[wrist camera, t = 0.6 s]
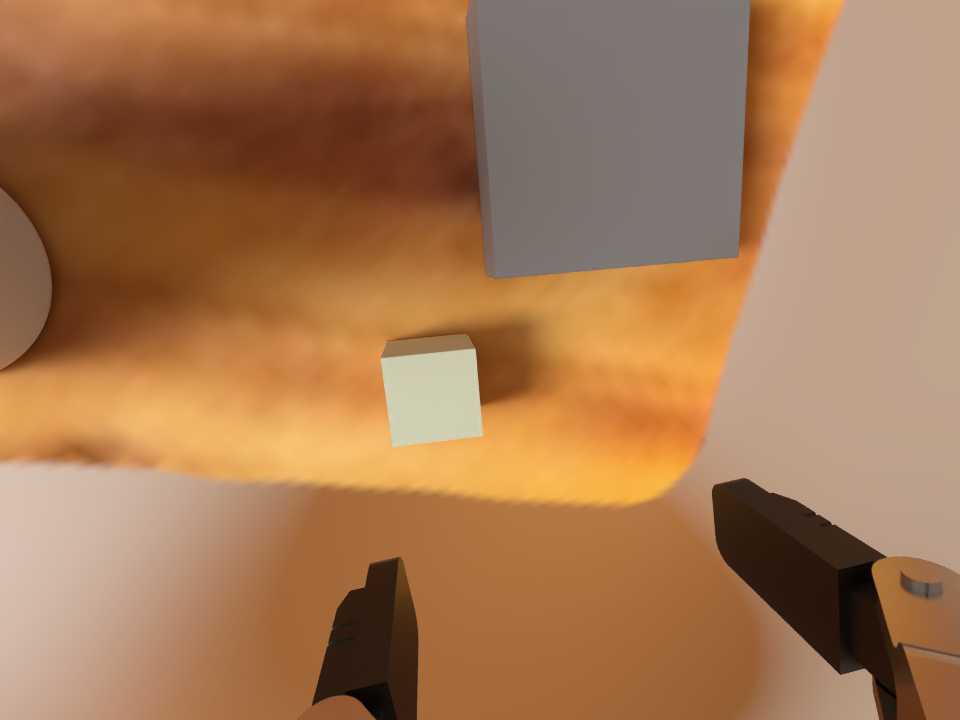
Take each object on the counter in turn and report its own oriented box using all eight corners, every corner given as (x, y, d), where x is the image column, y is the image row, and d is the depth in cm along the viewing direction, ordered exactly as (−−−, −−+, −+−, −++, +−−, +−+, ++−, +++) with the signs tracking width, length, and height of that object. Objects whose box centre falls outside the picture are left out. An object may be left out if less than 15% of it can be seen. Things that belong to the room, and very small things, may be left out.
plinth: (466, 18, 26) (474, -23, 22) (704, 11, 27) (751, -29, 23) (485, 275, 29) (495, 278, 25) (697, 256, 30) (738, 257, 27)
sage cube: (387, 340, 29) (380, 358, 24) (466, 333, 30) (475, 348, 25) (396, 416, 30) (392, 447, 26) (472, 407, 31) (483, 435, 26)
